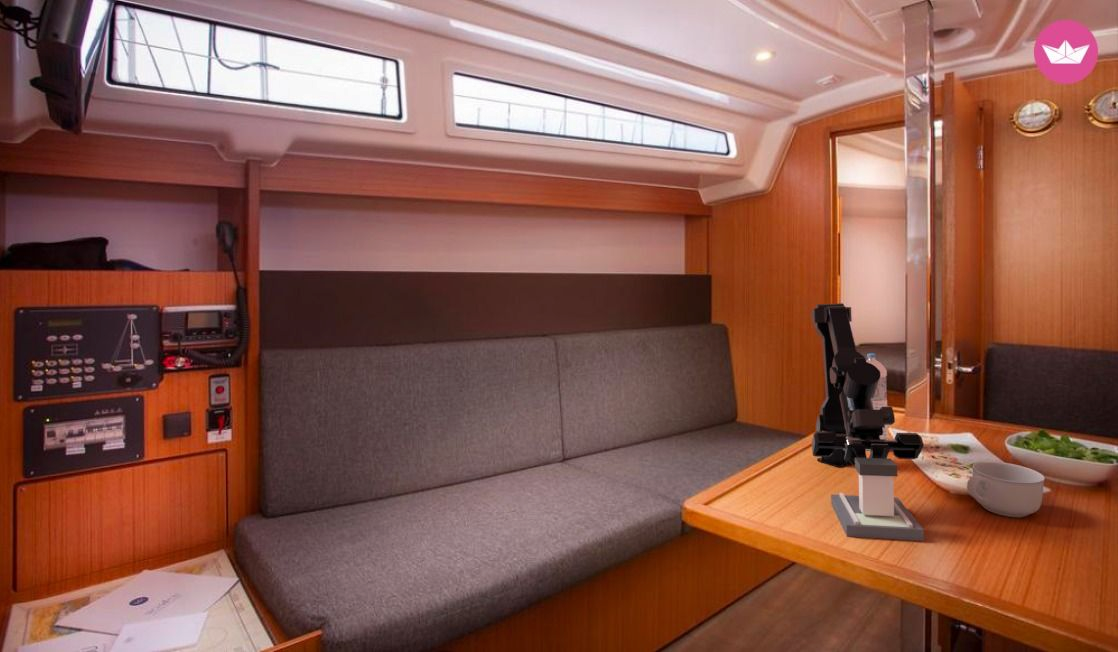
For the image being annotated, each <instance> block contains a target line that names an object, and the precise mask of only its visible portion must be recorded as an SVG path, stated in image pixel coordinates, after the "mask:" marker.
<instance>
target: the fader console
mask: <svg viewBox="0 0 1118 652" xmlns="http://www.w3.org/2000/svg"><path fill="white" fill-rule="evenodd" d="M830 504H831V507H832V509H833V511H834V514H835V515H836V517H837V519H838V521H839V523H840V525H841V527H842V529H843V531H844V533H845V536H846V537H849V538H850V537H852V538H853V537H854V538H868V539H869V538H870V539H883V540H884V539H885V540H897V541H898V540H901V541H915V542H916V541H917V542H924V541H925V537H924V536H925V531H924V529H923V527H922V526H921V525H920V523H919V522H918V521H917V519H916V518H915V517H914V515H912V513H910V511H909V510H908V508H907V507H906V506H905V505H904V504H903V502H902V500H900V498H899V496H898V497H897V496H896V497H895V496H894V516H879V515H863V514H862V512H861V510H860V509H859V495H855V494H854V495H852V494H849V495H848V494H844V493H843V492H839V494H833V493H832V494H830Z"/></svg>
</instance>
